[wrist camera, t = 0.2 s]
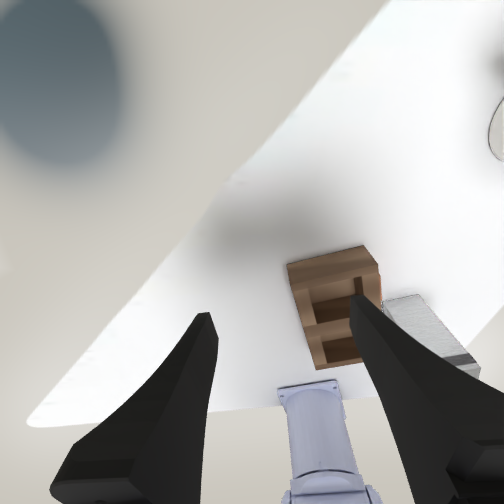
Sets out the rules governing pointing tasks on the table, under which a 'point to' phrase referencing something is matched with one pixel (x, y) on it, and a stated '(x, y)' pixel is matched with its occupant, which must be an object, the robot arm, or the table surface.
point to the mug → (497, 133)
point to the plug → (429, 331)
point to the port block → (333, 301)
